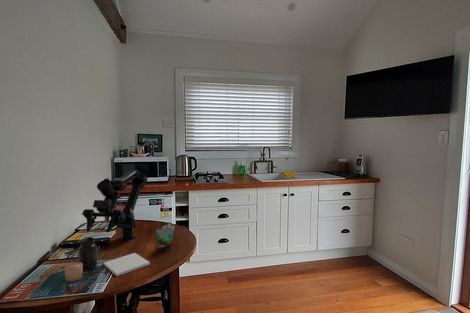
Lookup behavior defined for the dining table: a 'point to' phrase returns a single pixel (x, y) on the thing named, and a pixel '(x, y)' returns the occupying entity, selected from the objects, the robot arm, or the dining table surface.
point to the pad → (126, 264)
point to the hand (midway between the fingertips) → (97, 231)
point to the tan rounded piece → (73, 271)
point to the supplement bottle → (88, 253)
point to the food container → (165, 235)
